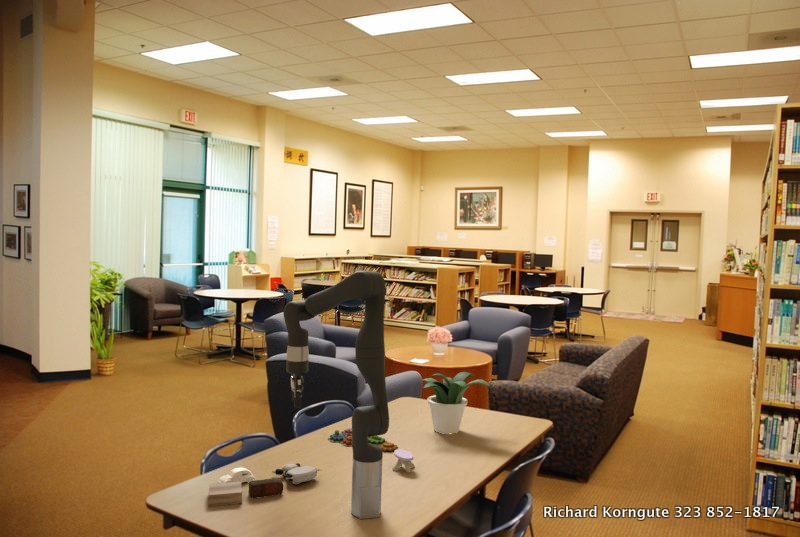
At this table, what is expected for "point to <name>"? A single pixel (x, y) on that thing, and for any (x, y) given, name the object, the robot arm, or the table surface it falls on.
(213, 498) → the base brick
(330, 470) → the table surface
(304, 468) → the robot toy
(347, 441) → the gear puzzle
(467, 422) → the table surface
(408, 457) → the toy table
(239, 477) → the car
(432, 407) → the potted plant
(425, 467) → the table surface
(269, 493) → the brick
